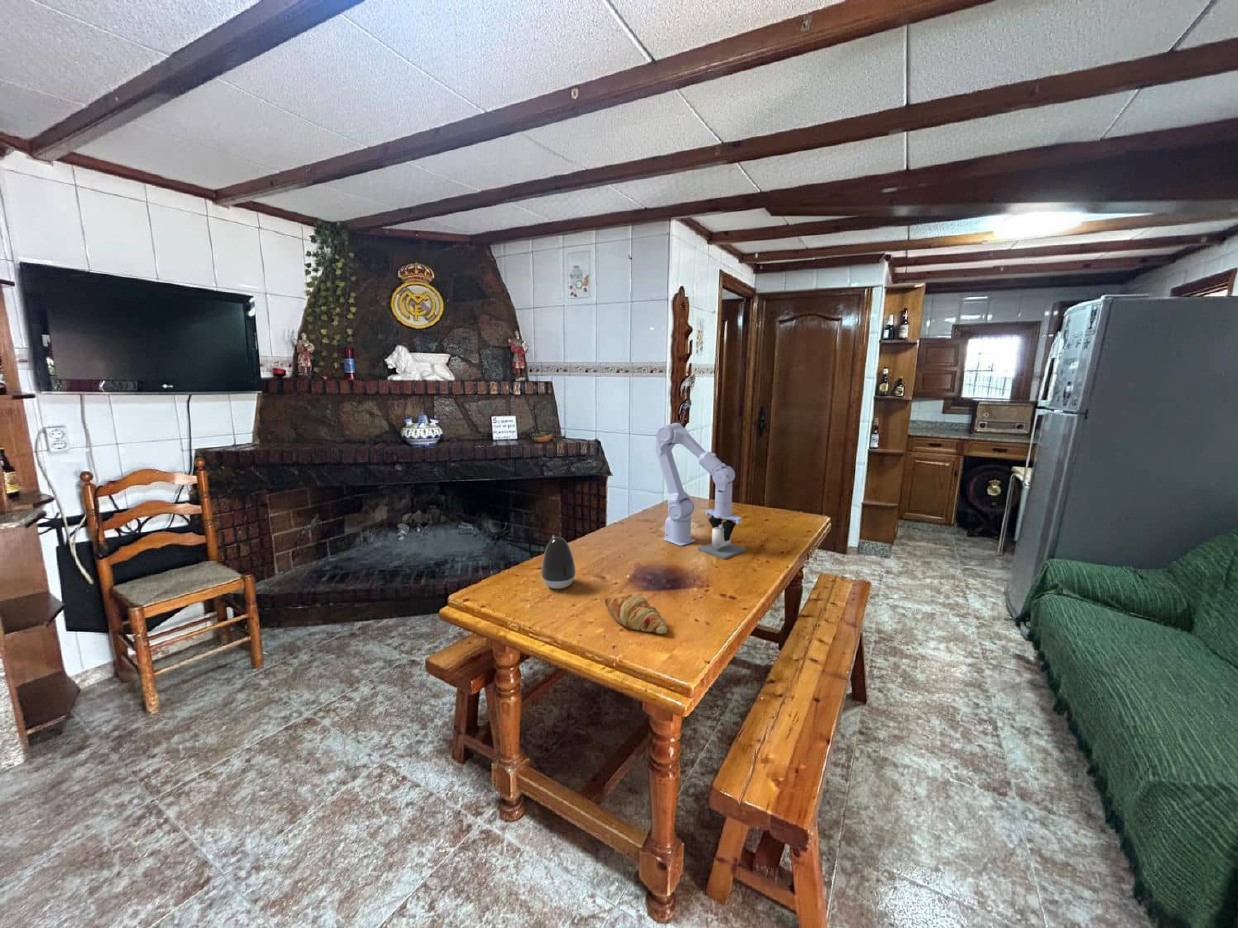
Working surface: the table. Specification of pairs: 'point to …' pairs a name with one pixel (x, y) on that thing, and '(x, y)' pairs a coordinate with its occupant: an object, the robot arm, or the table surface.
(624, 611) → the croissant
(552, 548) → the dark grey egg shape
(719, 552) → the slate mat
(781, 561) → the table surface
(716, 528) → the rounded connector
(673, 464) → the robot arm
